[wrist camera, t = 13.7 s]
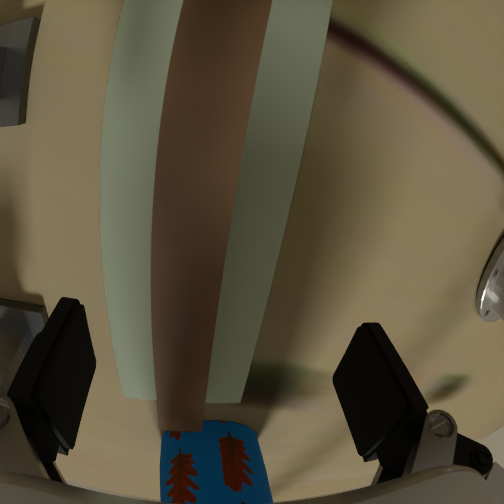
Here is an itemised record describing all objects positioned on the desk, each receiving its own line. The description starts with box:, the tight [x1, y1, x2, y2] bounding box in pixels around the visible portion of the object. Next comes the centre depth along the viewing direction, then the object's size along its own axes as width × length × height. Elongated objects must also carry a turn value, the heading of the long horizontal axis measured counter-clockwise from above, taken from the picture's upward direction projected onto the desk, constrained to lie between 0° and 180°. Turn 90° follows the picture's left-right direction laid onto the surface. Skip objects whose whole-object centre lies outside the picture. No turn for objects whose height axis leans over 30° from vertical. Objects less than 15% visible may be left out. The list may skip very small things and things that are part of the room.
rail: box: [151, 0, 272, 432], centre depth 14 cm, size 3×26×4 cm, turn 170°
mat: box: [100, 0, 333, 403], centre depth 16 cm, size 10×30×1 cm, turn 170°
